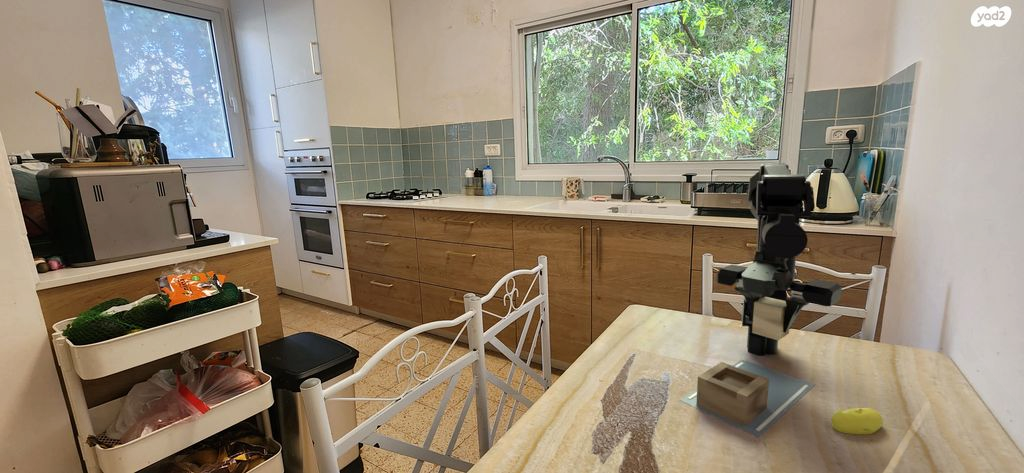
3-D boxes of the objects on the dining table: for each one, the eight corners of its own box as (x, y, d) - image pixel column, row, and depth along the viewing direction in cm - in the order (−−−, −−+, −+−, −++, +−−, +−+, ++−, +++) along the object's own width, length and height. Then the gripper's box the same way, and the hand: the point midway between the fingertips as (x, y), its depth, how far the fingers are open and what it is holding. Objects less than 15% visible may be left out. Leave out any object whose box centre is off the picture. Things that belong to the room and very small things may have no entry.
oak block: (762, 326, 82) (765, 296, 81) (788, 333, 78) (791, 302, 77) (752, 332, 79) (754, 302, 78) (778, 340, 76) (781, 308, 74)
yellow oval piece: (821, 425, 68) (824, 403, 67) (868, 421, 68) (871, 399, 68) (843, 442, 64) (846, 419, 63) (893, 438, 64) (896, 415, 63)
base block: (719, 388, 78) (721, 361, 77) (766, 407, 72) (769, 379, 71) (696, 404, 73) (697, 376, 72) (744, 426, 67) (746, 396, 66)
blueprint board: (741, 362, 88) (742, 358, 88) (814, 388, 78) (815, 383, 78) (679, 404, 75) (679, 399, 74) (758, 441, 64) (758, 436, 64)
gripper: (703, 244, 78) (699, 324, 81) (823, 262, 63) (813, 359, 66) (732, 236, 85) (728, 310, 88) (847, 250, 70) (837, 339, 73)
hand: (770, 327), depth 78 cm, fingers closed on oak block, 4 cm apart
